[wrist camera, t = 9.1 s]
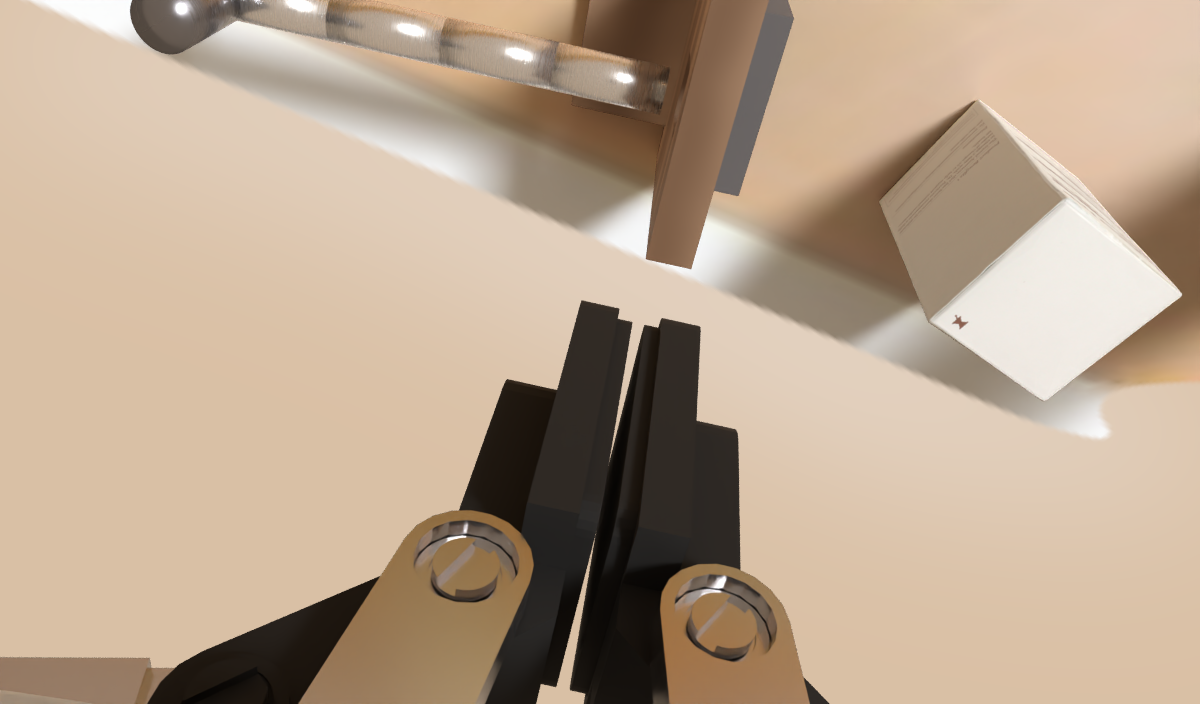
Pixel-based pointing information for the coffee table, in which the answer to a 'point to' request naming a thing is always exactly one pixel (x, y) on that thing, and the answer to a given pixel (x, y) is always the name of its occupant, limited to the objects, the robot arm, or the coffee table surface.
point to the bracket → (681, 99)
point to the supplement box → (1019, 255)
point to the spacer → (755, 96)
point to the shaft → (415, 43)
